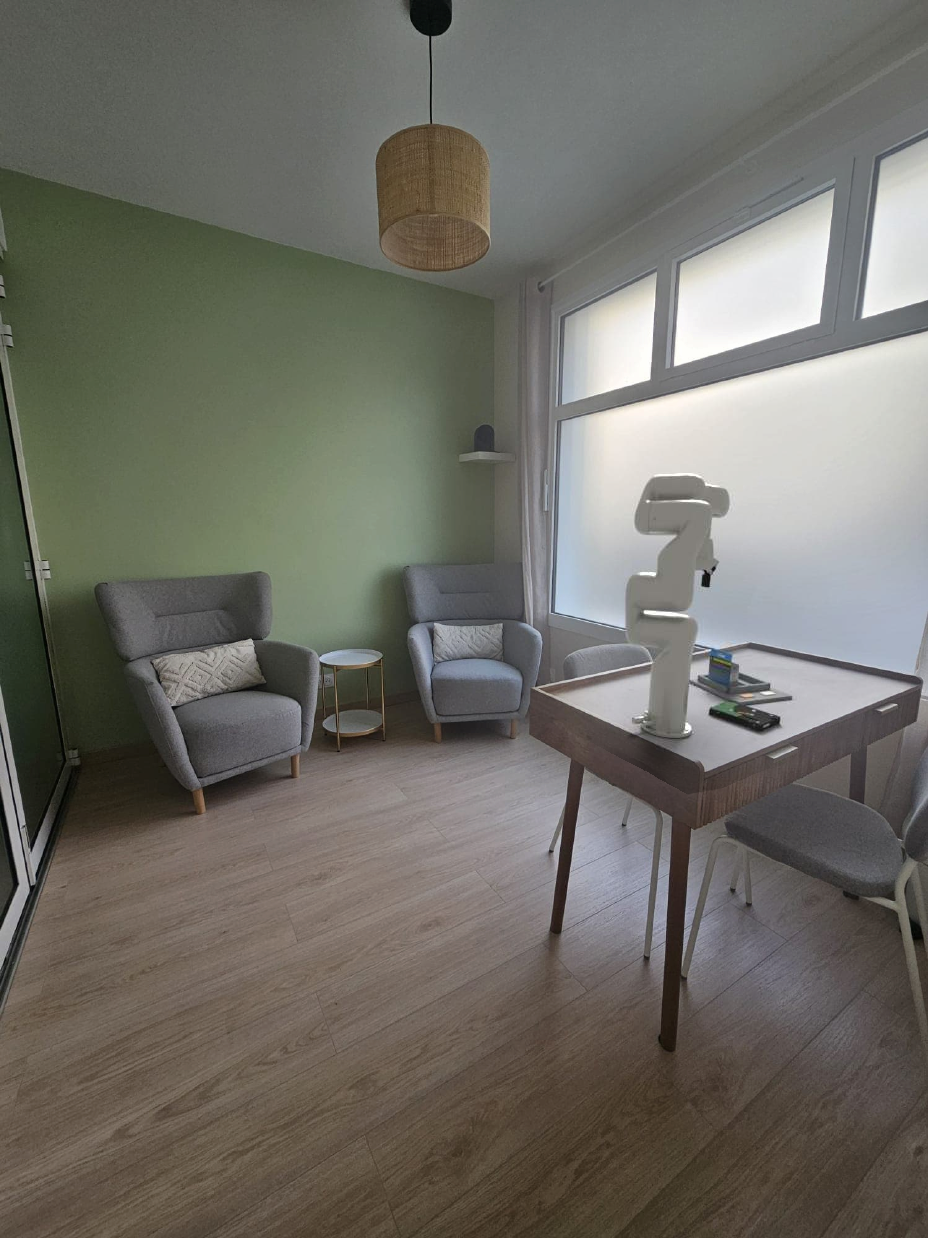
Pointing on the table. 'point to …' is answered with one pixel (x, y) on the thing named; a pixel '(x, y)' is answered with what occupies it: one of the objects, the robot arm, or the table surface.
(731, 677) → the label tape box
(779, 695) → the grey compartment tray
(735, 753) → the table surface
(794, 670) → the table surface
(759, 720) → the disk drive
